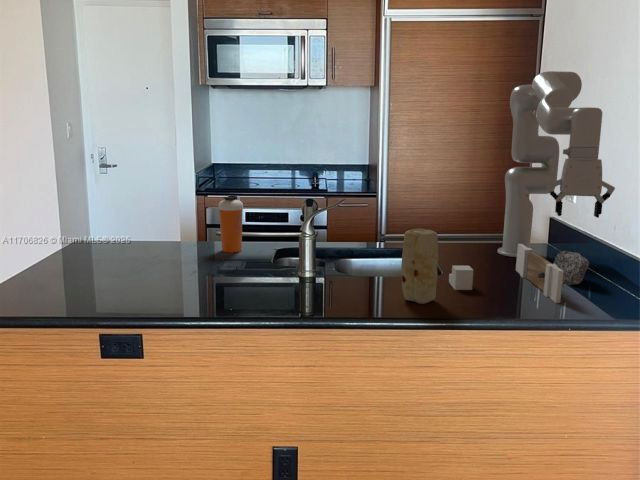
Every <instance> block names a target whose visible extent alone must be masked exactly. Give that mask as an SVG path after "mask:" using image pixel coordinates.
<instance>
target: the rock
mask: <svg viewBox="0 0 640 480" xmlns="http://www.w3.org/2000/svg"><path fill="white" fill-rule="evenodd" d="M553 261H554V262H553V263H552V264H556V265H557V266H558V268H560V269H561V270H563V280H562V284H565V285H566V286H573V285H579V284H580V283H581V282H582V281H583V279H584V277H585V274H586V272H587V270H588V269H589V266H590V260H588V259H587V258H586V257H584V256H583V255H581V254H580V253H579V252H576V251H575V252H574V251H573V252H572V251H566V250H563V251H560V252H559V253H557V255H556V256H555V258H554V260H553Z"/></svg>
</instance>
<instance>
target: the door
mask: <svg viewBox="0 0 640 480" xmlns="http://www.w3.org/2000/svg"><path fill="white" fill-rule="evenodd" d="M546 264H553V263H552V262H550V261H549V260H547V259H546V258H544V257H543V256H541V255H539V254H538V253H536V252H535V251H534V250H533V251H529V253H528V264H527V276H526V278H525V280H527V281H530V282H531V283H532V284H533V285H535V286H536V287H537V288H538V289H540V290H541V291H542V292H544V282H545V271H546Z"/></svg>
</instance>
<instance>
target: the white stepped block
mask: <svg viewBox="0 0 640 480" xmlns="http://www.w3.org/2000/svg"><path fill="white" fill-rule="evenodd" d="M473 281H474V269H473V268H472V267H471V266H470V265H451V273H449V274H448V283H449V284H450V285H451V287H452V289H454V290H455V291H472V290H473Z"/></svg>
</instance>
